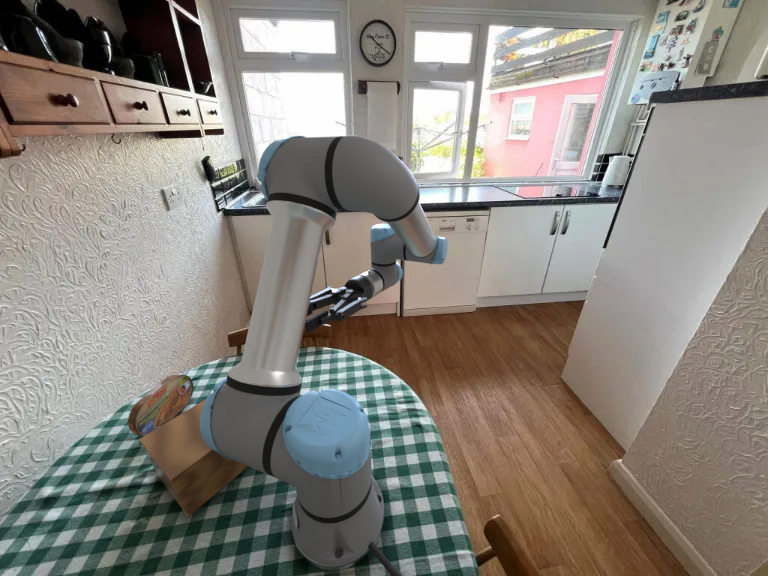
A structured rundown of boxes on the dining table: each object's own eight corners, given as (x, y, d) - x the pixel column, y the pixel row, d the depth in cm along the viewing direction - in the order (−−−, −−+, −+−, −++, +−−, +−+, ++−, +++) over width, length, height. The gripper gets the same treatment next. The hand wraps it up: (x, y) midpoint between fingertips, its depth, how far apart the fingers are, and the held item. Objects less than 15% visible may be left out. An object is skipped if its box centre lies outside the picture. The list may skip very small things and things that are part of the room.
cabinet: (230, 423, 70) (220, 390, 66) (264, 453, 64) (254, 418, 59) (157, 474, 60) (139, 439, 56) (187, 517, 53) (170, 480, 49)
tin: (146, 445, 66) (131, 416, 62) (133, 443, 66) (118, 414, 63) (198, 394, 79) (188, 367, 75) (187, 392, 79) (177, 366, 76)
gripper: (338, 268, 91) (270, 298, 74) (389, 283, 81) (324, 321, 64) (340, 291, 94) (276, 325, 78) (389, 308, 84) (327, 350, 68)
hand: (298, 323), depth 71 cm, fingers open, 5 cm apart
